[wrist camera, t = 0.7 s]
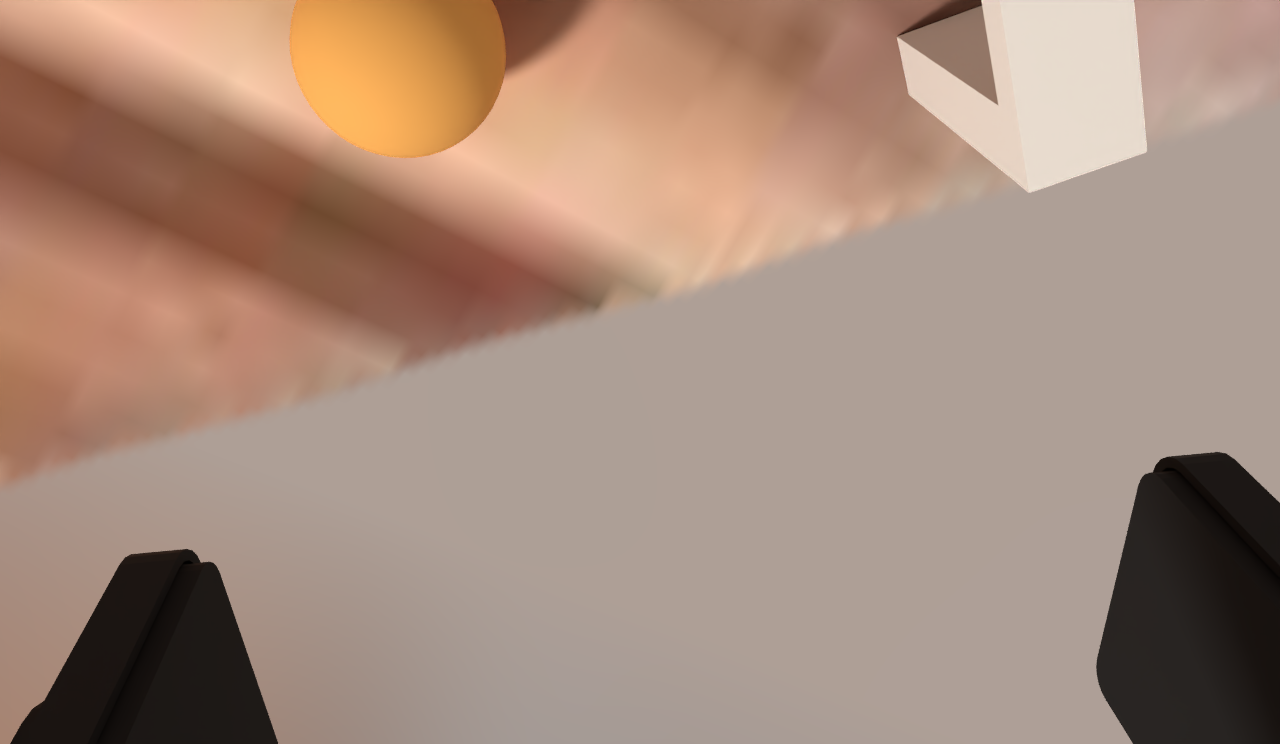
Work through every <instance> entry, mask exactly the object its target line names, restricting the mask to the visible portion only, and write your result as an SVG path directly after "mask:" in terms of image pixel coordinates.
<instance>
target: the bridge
mask: <svg viewBox="0 0 1280 744" xmlns="http://www.w3.org/2000/svg"><path fill="white" fill-rule="evenodd" d="M981 1H982V6H979V7H976V8H973V9H971V10H968V11H965V12H962V13H960V14H957V15H954V16H952V17H949V18H946V19H943V20H941V21H938V22H935V23H932V24H930V25H927V26H924V27H922V28H919V29H916V30H913V31H911V32H908V33H905V34H902V35H900V36H897V40H898V45H899V50H900V54H901V59H902V64H903V69H904V74H905V79H906V83H907V88H908V93H909V95H910V96H911V97H912V98H914V99H915V100H916V101H917V102H919V103H920V104H921V105H922V106H923V107H925V108H926V109H927V110H928V111H930V112H931V113H932V114H933V115H934V116H936V117H937V118H938V119H939V120H941V121H942V122H943V123H944V124H945V125H947V126H948V127H949V128H950V129H952V130H953V131H954V132H955V133H956V134H958V135H959V136H960V137H961V138H963V139H964V140H965V141H966V142H967V143H969V144H970V145H971V146H972V147H974V148H975V149H976V150H977V151H978V152H980V153H981V154H982V155H983V156H985V157H986V158H987V159H988V160H989V161H991V162H992V163H993V164H994V165H996V166H997V167H998V168H999V169H1000V170H1002V171H1003V172H1004V173H1005V174H1007V175H1008V176H1009V177H1010V178H1011V179H1013V180H1014V181H1015V182H1016V183H1018V184H1019V185H1020V186H1021V187H1022V188H1024V189H1025V190H1026V191H1027V192H1029V193H1030V192H1033V191H1036V190H1039V189H1042V188H1045V187H1048V186H1051V185H1053V184H1056V183H1059V182H1062V181H1065V180H1068V179H1071V178H1074V177H1077V176H1079V175H1082V174H1085V173H1088V172H1091V171H1094V170H1097V169H1100V168H1103V167H1105V166H1108V165H1111V164H1114V163H1117V162H1120V161H1123V160H1126V159H1128V158H1131V157H1134V156H1137V155H1140V154H1143V153H1146V152H1147V144H1146V133H1145V121H1144V110H1143V98H1142V87H1141V75H1140V64H1139V52H1138V41H1137V29H1136V18H1135V6H1134V0H981Z"/></svg>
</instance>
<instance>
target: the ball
mask: <svg viewBox="0 0 1280 744" xmlns="http://www.w3.org/2000/svg"><path fill="white" fill-rule="evenodd" d="M290 54H291V60H292V65H293V69H294V72H295V76H296V79H297V81H298V84H299V86H300V88H301V90H302V93H303V94H304V96H305V98H306V99H307V101H308V103H309V105H310V106H311V107H312V109H313V110H314V111H315V113H316V114H317V115H318V116H319V118H320V119H321V120H322V121H323V122H324V123H325V124H326V125H327V126H328V127H329V128H330V129H331V130H333V131H334V132H335V133H336V134H338V135H339V136H340V137H342V138H343V139H345V140H346V141H348V142H350V143H351V144H353V145H355V146H357V147H359V148H361V149H364V150H367V151H369V152H372V153H375V154H380V155H384V156H389V157H399V158H414V157H422V156H428V155H432V154H435V153H438V152H441V151H444V150H446V149H448V148H450V147H452V146H454V145H456V144H457V143H459V142H460V141H462V140H464V139H465V138H466V137H468V136H469V135H470V134H471V133H472V132H474V131H475V130H476V129H477V128H478V127H479V125H480V124H481V123H482V122H483V121H484V120H485V118H486V117H487V115H488V114H489V112H490V111H491V109H492V107H493V105H494V103H495V101H496V99H497V97H498V95H499V92H500V89H501V86H502V83H503V78H504V73H505V64H506V48H505V38H504V33H503V28H502V24H501V21H500V18H499V15H498V12H497V9H496V7H495V5H494V3H493V1H492V0H297V2H296V4H295V7H294V11H293V15H292V19H291V28H290Z"/></svg>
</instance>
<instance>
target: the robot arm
mask: <svg viewBox="0 0 1280 744" xmlns="http://www.w3.org/2000/svg"><path fill="white" fill-rule="evenodd" d="M1096 668H1097V677H1098V682H1099V685H1100V688H1101V691H1102V693H1103V695H1104V697H1105V699H1106V701H1107V702H1108V704H1109V706H1110V707H1111V709H1112V710H1113V712H1114V713H1115V715H1116V717H1117V718H1118V720H1119V721H1120V723H1121V725H1122V726H1123V728H1124V730H1125V731H1126V733H1127V734H1128V736H1129V738H1130V739H1131V741H1132V743H1133V744H1280V503H1279V502H1278V501H1277V500H1276V499H1275V498H1274V497H1273V496H1272V495H1271V494H1270V493H1269V492H1268V491H1267V490H1266V489H1265V488H1264V487H1263V486H1261V484H1260V483H1258V482H1257V481H1256V480H1255V479H1254V478H1253V477H1252V476H1251V475H1250V474H1249V473H1248V472H1247V471H1246V470H1245V469H1244V468H1243V467H1242V466H1241V465H1240V464H1239V463H1238V462H1237V461H1236V460H1235V459H1233V458H1232V457H1230V456H1229V455H1227V454H1225V453H1220V452H1215V453H1203V454H1192V455H1182V456H1171V457H1166V458H1163V459H1161V460H1160V461H1159V462H1158V463H1157V464H1156V466H1155V468H1154V471H1153V473H1148V474H1145V475H1144V476H1143V477H1142V479H1141V480H1140V483H1139V485H1138V489H1137V494H1136V498H1135V502H1134V506H1133V510H1132V515H1131V519H1130V523H1129V527H1128V531H1127V536H1126V540H1125V544H1124V548H1123V552H1122V557H1121V561H1120V565H1119V569H1118V573H1117V578H1116V582H1115V586H1114V590H1113V595H1112V599H1111V603H1110V607H1109V611H1108V615H1107V620H1106V624H1105V628H1104V632H1103V637H1102V641H1101V645H1100V649H1099V653H1098V657H1097V666H1096ZM10 744H278V742H277V739H276V736H275V733H274V730H273V727H272V724H271V721H270V718H269V715H268V712H267V709H266V706H265V704H264V701H263V698H262V695H261V692H260V689H259V686H258V683H257V680H256V677H255V674H254V671H253V669H252V666H251V663H250V660H249V657H248V654H247V651H246V648H245V645H244V642H243V639H242V637H241V633H240V631H239V628H238V625H237V622H236V619H235V616H234V613H233V610H232V607H231V604H230V601H229V598H228V595H227V593H226V590H225V587H224V584H223V581H222V578H221V575H220V573H219V570H218V568H217V566H216V565H215V564H214V563H212V562H203V563H201V562H200V560H199V558H198V556H197V555H196V554H195V553H194V552H193V551H192V550H188V549H183V550H173V551H162V552H151V553H140V554H131V555H129V556H127V557H125V558H124V560H123V561H122V562H121V564H120V565H119V567H118V568H117V570H116V572H115V574H114V576H113V578H112V580H111V581H110V583H109V585H108V587H107V588H106V590H105V592H104V594H103V596H102V598H101V599H100V601H99V603H98V605H97V607H96V608H95V610H94V612H93V614H92V616H91V617H90V619H89V621H88V623H87V625H86V627H85V628H84V630H83V632H82V634H81V635H80V637H79V639H78V641H77V643H76V645H75V646H74V648H73V650H72V652H71V653H70V655H69V657H68V659H67V661H66V663H65V664H64V666H63V668H62V670H61V672H60V673H59V675H58V677H57V679H56V681H55V683H54V684H53V686H52V688H51V690H50V691H49V693H48V695H47V697H46V699H45V701H43V702H42V703H40V704H39V705H37V706H36V707H34V708H33V709H32V710H31V712H30V713H29V714H28V716H27V717H26V718H25V720H24V721H23V723H22V724H21V726H20V728H19V729H18V731H17V733H16V735H15V736H14V738H13V740H12V742H11V743H10Z"/></svg>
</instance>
